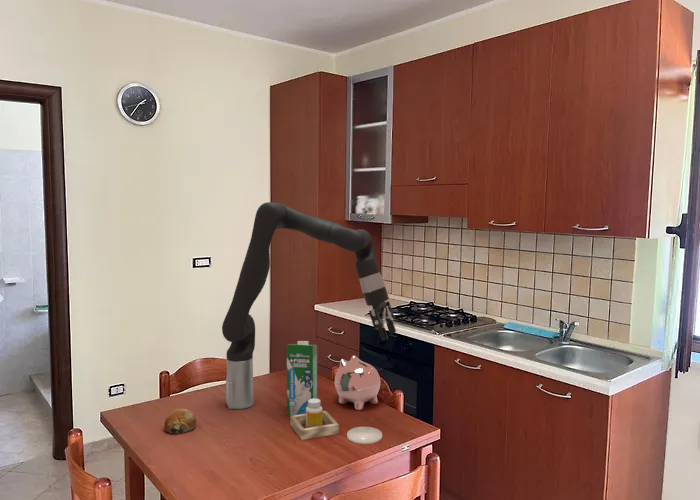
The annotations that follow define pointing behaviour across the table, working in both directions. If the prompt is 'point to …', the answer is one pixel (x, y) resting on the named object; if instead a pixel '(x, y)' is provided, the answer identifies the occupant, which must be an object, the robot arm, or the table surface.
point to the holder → (317, 431)
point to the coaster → (364, 435)
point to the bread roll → (180, 421)
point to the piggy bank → (357, 382)
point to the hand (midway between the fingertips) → (389, 336)
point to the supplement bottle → (313, 413)
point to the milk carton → (301, 376)
